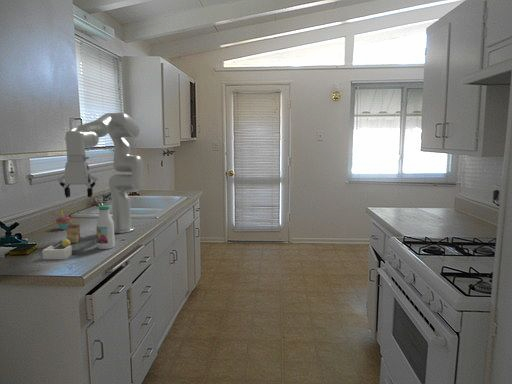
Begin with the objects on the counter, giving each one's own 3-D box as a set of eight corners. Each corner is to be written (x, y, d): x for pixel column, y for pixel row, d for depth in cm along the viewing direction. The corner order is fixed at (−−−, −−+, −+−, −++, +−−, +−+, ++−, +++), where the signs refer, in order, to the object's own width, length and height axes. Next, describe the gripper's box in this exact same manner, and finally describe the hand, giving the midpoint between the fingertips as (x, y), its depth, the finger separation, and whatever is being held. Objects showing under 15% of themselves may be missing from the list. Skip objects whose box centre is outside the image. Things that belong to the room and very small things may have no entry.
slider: (71, 240, 189) (70, 224, 188) (80, 240, 189) (79, 224, 188) (67, 242, 185) (66, 226, 184) (77, 242, 185) (75, 226, 184)
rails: (59, 245, 182) (59, 244, 182) (79, 245, 182) (79, 243, 182) (50, 250, 174) (50, 248, 174) (71, 250, 174) (71, 248, 174)
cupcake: (68, 230, 219) (67, 209, 217) (53, 230, 219) (51, 209, 217) (75, 226, 228) (74, 206, 226) (60, 226, 228) (59, 206, 226)
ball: (64, 245, 181) (63, 238, 180) (72, 245, 181) (71, 238, 180) (60, 248, 177) (60, 240, 177) (68, 248, 177) (68, 240, 177)
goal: (51, 254, 174) (50, 245, 174) (72, 254, 174) (71, 245, 174) (43, 259, 168) (42, 250, 167) (65, 259, 168) (64, 250, 167)
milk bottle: (109, 244, 191) (107, 204, 188) (118, 246, 186) (115, 205, 183) (94, 247, 185) (91, 206, 182) (103, 250, 180) (100, 208, 177)
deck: (61, 244, 190) (61, 240, 190) (92, 244, 190) (92, 240, 190) (44, 254, 174) (44, 250, 174) (78, 254, 174) (78, 250, 174)
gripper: (99, 158, 177) (101, 195, 179) (60, 158, 176) (63, 196, 179) (93, 159, 170) (95, 198, 172) (52, 159, 169) (55, 198, 171)
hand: (78, 197), depth 175 cm, fingers open, 9 cm apart
